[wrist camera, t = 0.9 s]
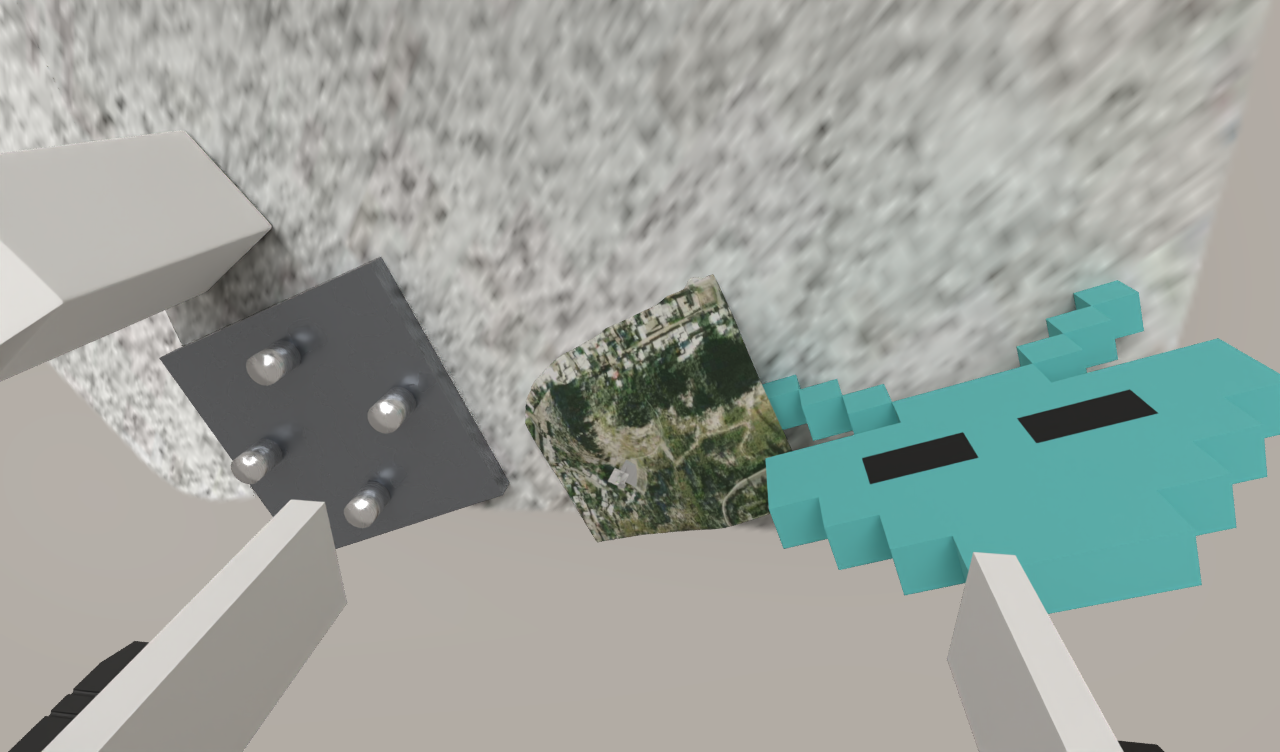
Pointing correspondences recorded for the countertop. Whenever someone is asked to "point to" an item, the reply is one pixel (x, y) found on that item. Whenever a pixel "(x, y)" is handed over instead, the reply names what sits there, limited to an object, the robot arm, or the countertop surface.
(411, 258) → the countertop surface
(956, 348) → the countertop surface
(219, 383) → the plate
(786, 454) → the alien figure
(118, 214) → the milk carton
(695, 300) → the topographical model
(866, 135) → the countertop surface
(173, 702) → the robot arm
